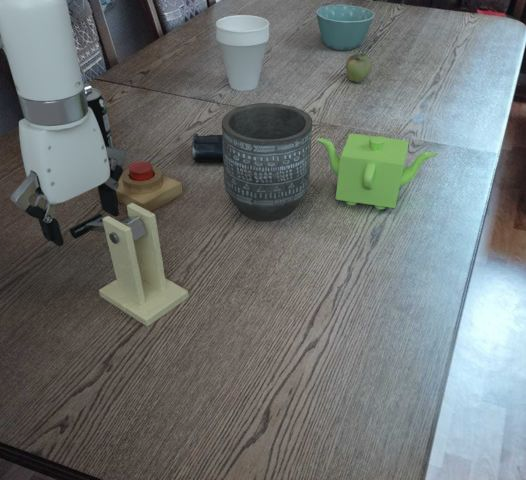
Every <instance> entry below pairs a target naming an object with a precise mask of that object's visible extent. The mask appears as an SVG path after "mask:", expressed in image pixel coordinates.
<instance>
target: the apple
mask: <svg viewBox="0 0 526 480" xmlns="http://www.w3.org/2000/svg"><path fill="white" fill-rule="evenodd" d="M345 70H346V75H347V79H349V81H350V82H355V83H357V84H361V82H363V81H364V79H365V78H367V76H368V75H369V73H370V72H371V60H370V58H369V56H368V55H367V54H366V53H356V54H355V53H354V54H352V55H350V56H349V57H348V58H347V59H346V62H345Z"/></svg>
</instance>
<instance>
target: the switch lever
mask: <svg viewBox="0 0 526 480" xmlns="http://www.w3.org/2000/svg"><path fill="white" fill-rule="evenodd" d="M103 218H104V215H103V214H101V213H97V214H95V215H93V216H91V217H90V218H87V219H86V220H83V221H82V222H79V223H78V224H76V225H74V226H72V227H70V228H69V233H70V235H71V237H72V238H73V239H74V240H75V239H79V238H80V237H83V236H84V235H86V234H88V233H90V232H98V233H99V232H100V233H105V229H104V225H103V221H102V219H103ZM118 221H119V222H121V223H123V224H124V225H126V226H128V227H130V228H131V231H132V236H133V241H136V240H137V239H139V238H141V237H142V236H144V235H146V234H147V232H146V230H145V228H144V225H143V223H142V220H141V218H140V217H137V216H129V215H127V216H126V217H123V218H122V219H120V220H118Z"/></svg>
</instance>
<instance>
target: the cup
mask: <svg viewBox="0 0 526 480" xmlns="http://www.w3.org/2000/svg"><path fill="white" fill-rule="evenodd" d="M215 38H216V40H217V42H218V45H219V48H220V53H221V56H222V61H223V64H224V69H225V72H226V76H227V80H228V83H229V88H231V90H235V91H238V92H250V91H252V90H255V89H257V88H258V85H259V81H260V77H261V72H262V67H263V63H264V57H265V54H266V49H267V44H268V41H269V40H270V22H269V20H267V19H266V18H264V17H262V16H258V15H252V14H235V15H228V16H224V17H221V18H219V19H218V20H216V21H215Z"/></svg>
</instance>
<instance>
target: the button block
mask: <svg viewBox="0 0 526 480" xmlns="http://www.w3.org/2000/svg"><path fill="white" fill-rule="evenodd" d="M151 165H152V168H153V174H154V176H153V178H151V179H149V180H145V181H134V180H132V179H131V178H130V172H129V167H128V168H126V169H125V170H123V173H122V175H121V177H120V179H119V181H118V183H119V188H118V189H117V190H116V193H117V199H118V203H121V204H122V205H125V206H126V207H127V205H129V204H131V203H134V204H136V205H138V206H140V207H142V208H144V209H146V210H148V211H150V212H152V213H153V211H156V210H158V209H159V208H161V207H163V206H164V205H166V204H168V203H170V202H172V201H173V200H175V199H177V198H178V197H181V196H182V195H183V194H184V193H183V184H182V182H180V181H178V180H176V179H173V178H171V177H169V176H167V175H165V174H163V172H162V170H161V168H160V167H157V166H155V165H153V164H151Z"/></svg>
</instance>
